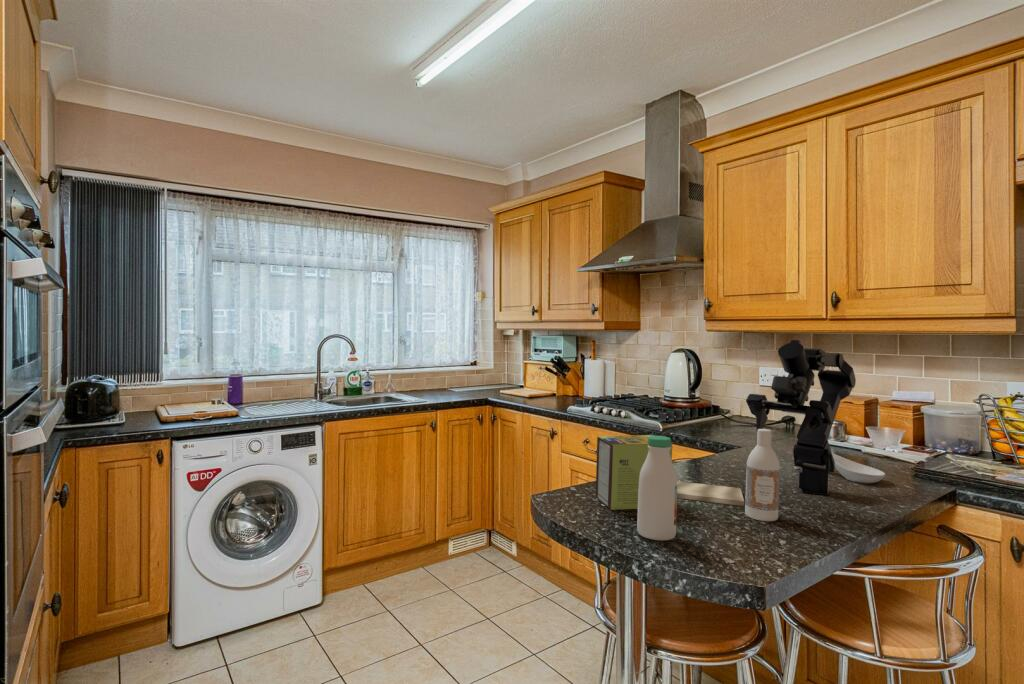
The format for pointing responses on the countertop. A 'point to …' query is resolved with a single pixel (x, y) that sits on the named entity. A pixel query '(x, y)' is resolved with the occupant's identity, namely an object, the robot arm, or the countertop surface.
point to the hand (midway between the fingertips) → (777, 435)
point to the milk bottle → (657, 492)
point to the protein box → (620, 469)
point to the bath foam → (762, 480)
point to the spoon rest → (856, 471)
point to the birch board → (710, 493)
